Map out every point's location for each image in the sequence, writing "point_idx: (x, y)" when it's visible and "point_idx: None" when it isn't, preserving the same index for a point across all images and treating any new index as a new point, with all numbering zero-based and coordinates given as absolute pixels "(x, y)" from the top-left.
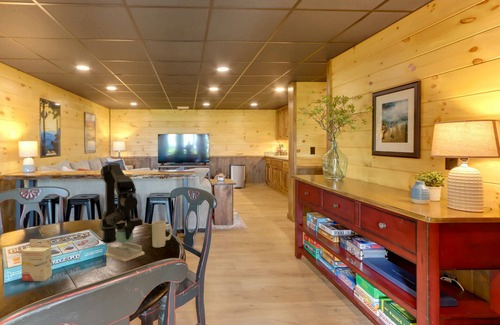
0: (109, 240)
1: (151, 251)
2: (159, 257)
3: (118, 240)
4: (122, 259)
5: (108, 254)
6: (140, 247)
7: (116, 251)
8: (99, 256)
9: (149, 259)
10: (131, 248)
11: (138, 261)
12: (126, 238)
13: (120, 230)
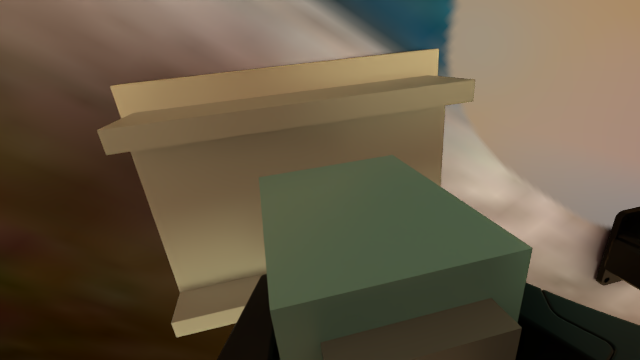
0: (628, 231)
1: (213, 345)
2: (15, 342)
3: (348, 173)
4: (145, 81)
5: (386, 59)
6: (175, 312)
7: (296, 98)
8: (449, 5)
9: (19, 270)
10: None
11: (30, 182)
12: (265, 283)
13: (424, 342)
